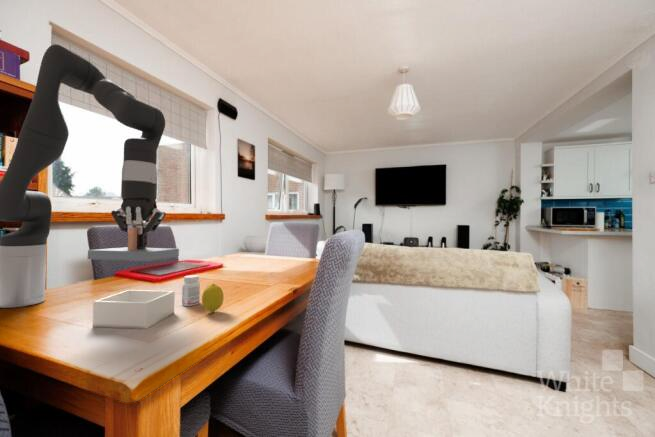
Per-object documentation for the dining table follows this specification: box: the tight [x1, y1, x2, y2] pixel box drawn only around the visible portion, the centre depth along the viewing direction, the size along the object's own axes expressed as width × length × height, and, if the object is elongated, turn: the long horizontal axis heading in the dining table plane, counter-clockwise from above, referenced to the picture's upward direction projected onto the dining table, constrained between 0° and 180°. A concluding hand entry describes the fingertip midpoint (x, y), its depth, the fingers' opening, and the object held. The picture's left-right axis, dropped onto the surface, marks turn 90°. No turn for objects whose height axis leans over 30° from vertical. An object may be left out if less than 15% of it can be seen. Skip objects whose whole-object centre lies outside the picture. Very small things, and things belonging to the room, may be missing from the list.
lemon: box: [201, 283, 224, 313], centre depth 77 cm, size 6×6×8 cm
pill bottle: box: [181, 274, 201, 307], centre depth 84 cm, size 5×5×8 cm
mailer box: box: [92, 289, 176, 330], centre depth 71 cm, size 13×11×6 cm
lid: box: [87, 228, 180, 262], centre depth 71 cm, size 14×12×8 cm
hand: (137, 248), depth 71 cm, fingers closed on lid, 1 cm apart
